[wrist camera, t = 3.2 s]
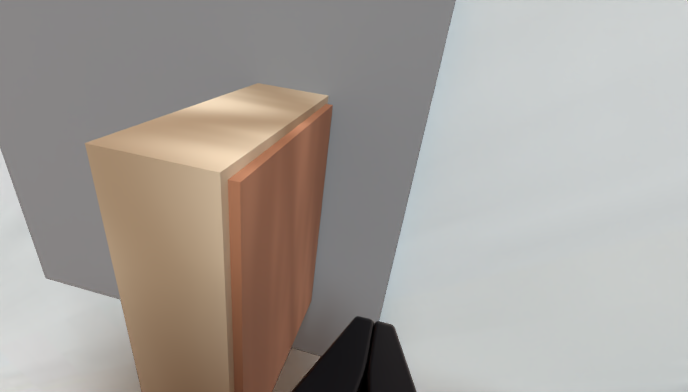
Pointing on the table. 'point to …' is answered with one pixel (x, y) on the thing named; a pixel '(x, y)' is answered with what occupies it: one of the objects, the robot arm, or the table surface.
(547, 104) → the table surface
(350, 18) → the slate mat
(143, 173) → the maple tile
